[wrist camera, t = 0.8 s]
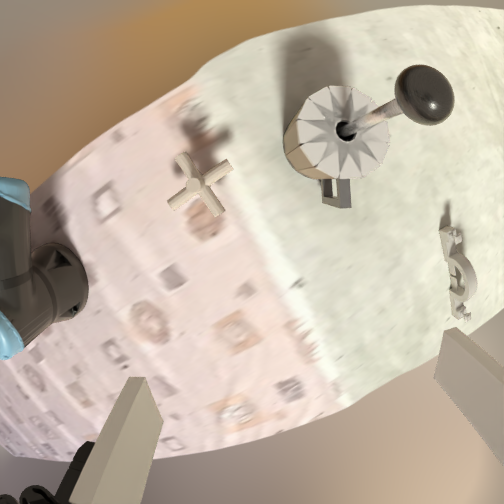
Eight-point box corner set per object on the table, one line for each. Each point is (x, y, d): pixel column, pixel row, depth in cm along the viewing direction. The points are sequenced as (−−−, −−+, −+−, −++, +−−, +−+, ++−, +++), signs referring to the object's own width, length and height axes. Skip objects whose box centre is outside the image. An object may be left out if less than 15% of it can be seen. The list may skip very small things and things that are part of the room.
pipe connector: (214, 140, 42) (204, 128, 33) (250, 192, 44) (250, 195, 35) (162, 177, 44) (139, 176, 34) (197, 228, 46) (183, 241, 36)
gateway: (437, 229, 47) (462, 238, 39) (445, 225, 46) (471, 233, 39) (450, 313, 51) (471, 329, 43) (458, 308, 51) (479, 324, 43)
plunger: (308, 168, 34) (394, 152, 13) (301, 105, 32) (368, 16, 11) (368, 166, 34) (494, 160, 12) (361, 106, 32) (471, 44, 11)
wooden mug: (288, 204, 45) (305, 213, 31) (279, 113, 42) (292, 85, 28) (354, 199, 45) (394, 207, 31) (346, 112, 41) (382, 88, 28)
